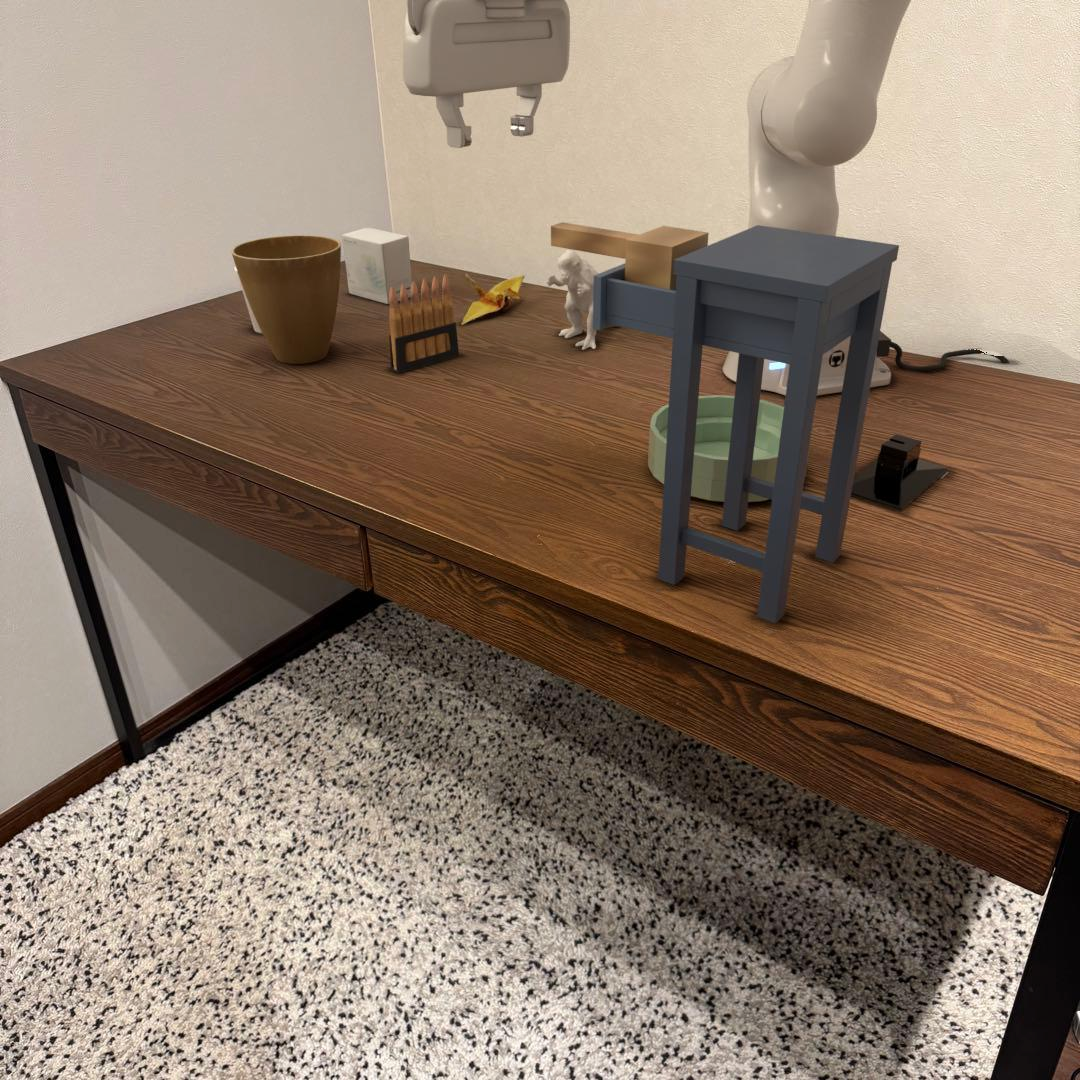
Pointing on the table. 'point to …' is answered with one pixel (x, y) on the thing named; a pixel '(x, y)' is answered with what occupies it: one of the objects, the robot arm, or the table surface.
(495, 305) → the origami crane
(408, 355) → the ammunition clip
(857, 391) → the nightstand
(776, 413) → the bowl
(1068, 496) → the table surface
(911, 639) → the table surface
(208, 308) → the table surface
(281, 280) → the plant pot
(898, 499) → the black slotted stand
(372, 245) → the cosmetics box
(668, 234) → the mallet
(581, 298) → the dinosaur figurine
